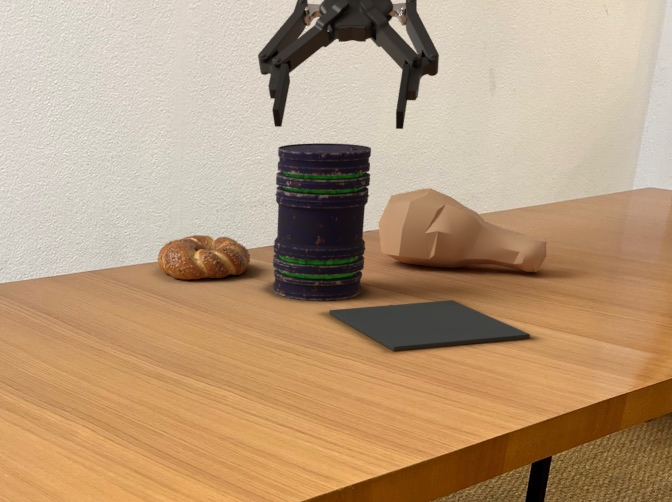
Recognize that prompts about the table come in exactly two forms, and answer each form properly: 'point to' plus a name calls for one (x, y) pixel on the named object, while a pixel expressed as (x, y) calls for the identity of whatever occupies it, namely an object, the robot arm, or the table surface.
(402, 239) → the squash
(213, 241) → the braided bread ring
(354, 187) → the dark purple barrel
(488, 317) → the coaster
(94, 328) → the table surface
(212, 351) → the table surface
